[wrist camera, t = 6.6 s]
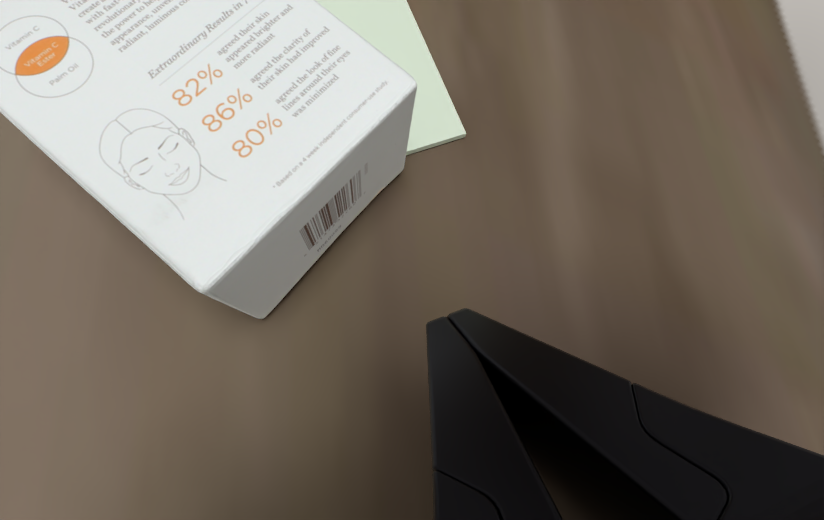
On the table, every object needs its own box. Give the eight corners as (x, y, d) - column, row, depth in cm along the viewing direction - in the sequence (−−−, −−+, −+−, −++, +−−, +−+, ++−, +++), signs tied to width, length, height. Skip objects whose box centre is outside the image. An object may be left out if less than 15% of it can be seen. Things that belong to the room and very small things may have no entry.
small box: (409, 171, 17) (219, 13, 18) (424, 78, 12) (153, -138, 13) (259, 325, 15) (57, 138, 16) (194, 300, 10) (-102, 23, 11)
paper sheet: (464, 137, 18) (466, 133, 18) (222, 212, 16) (219, 209, 16) (374, -65, 20) (374, -71, 20) (153, -16, 19) (150, -23, 18)
